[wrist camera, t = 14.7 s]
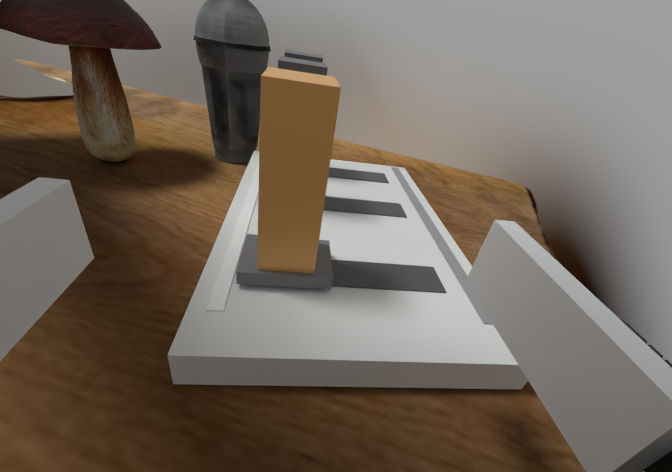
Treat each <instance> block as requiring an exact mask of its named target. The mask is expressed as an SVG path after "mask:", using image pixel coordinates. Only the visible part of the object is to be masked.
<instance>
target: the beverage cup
mask: <svg viewBox="0 0 672 472" xmlns="http://www.w3.org/2000/svg"><path fill="white" fill-rule="evenodd" d="M194 40H196V48H197V53H198V57H199V61H200V63H201V65H202V72H203V78H204V85H205V91H206V99H207V106H208V112H209V119H210V126H211V133H212V140H213V143H214V148H215V155H216V157H217V158H218V159H219V160H222V161H224V162H229V163H247V162H249V161H250V159H251V157H252V154H253V152H254V150H255V151H256V147H257V142H258V132H259V122H260V91H261V75H262V74H263V73H264V72H265V70H266V68H267V63H268V54H269V51H270V46H269V38H268V32H267V28H266V25H265V22H264V20H263V18H262V16H261V14H260V13H259V11H258V10H257V9H256V7H255V6H254V5H253V4H252V3H251V2H250V1H248V0H207V1H206V2H205V3H204V4H203V6H202V7H201V9H200V11H199V13H198V16H197V20H196V26H195V35H194Z"/></svg>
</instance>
